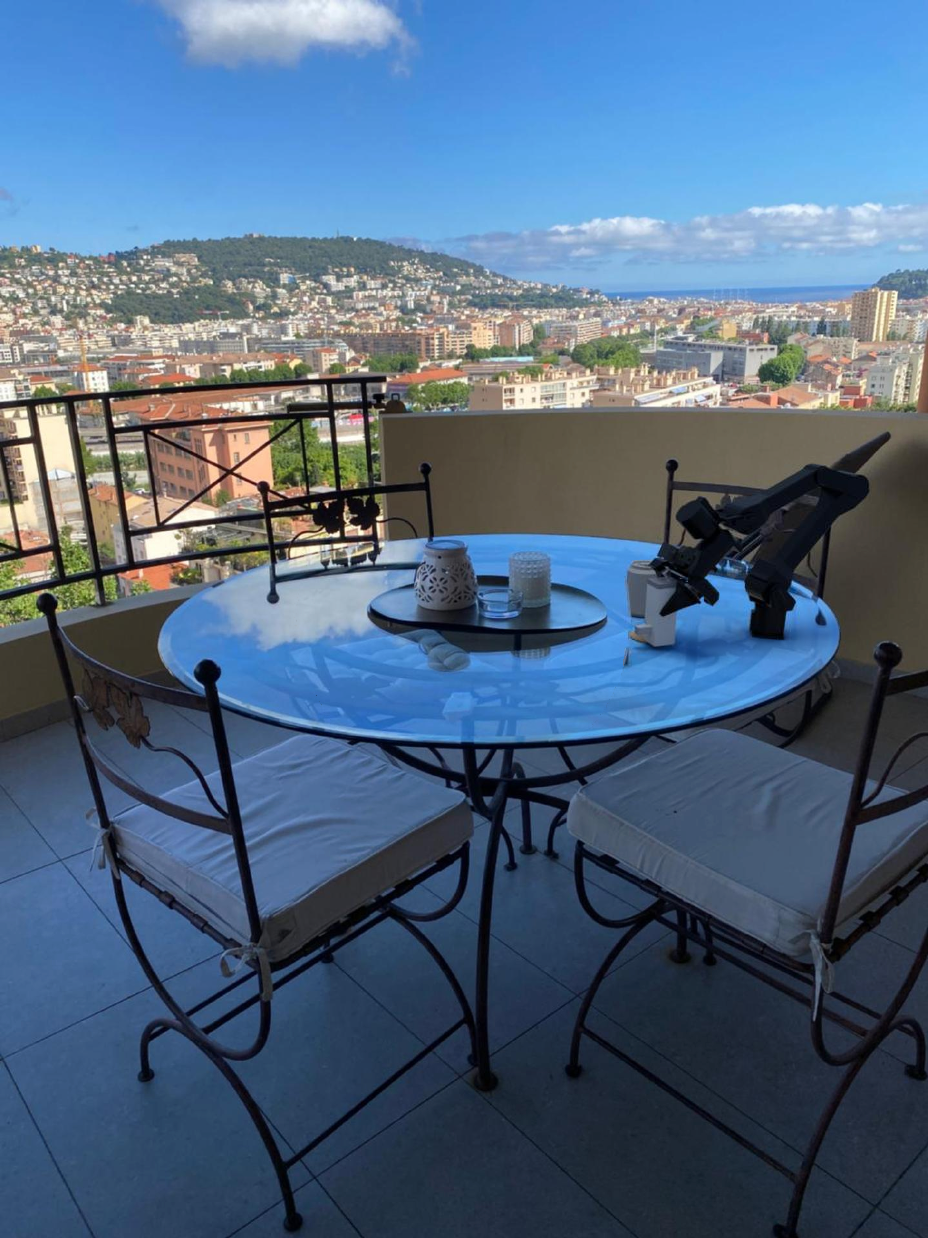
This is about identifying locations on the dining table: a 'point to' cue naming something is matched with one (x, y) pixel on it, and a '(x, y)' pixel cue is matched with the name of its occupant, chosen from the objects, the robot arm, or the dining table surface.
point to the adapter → (655, 625)
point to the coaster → (637, 637)
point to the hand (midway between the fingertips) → (654, 611)
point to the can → (639, 585)
